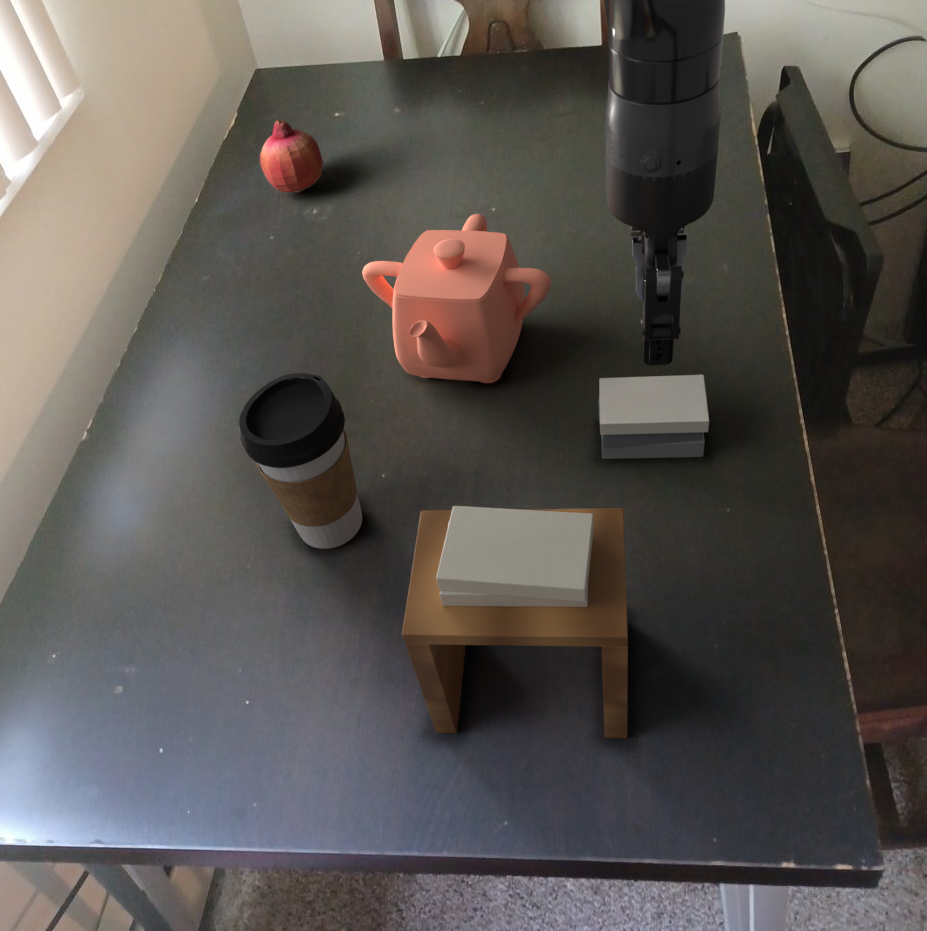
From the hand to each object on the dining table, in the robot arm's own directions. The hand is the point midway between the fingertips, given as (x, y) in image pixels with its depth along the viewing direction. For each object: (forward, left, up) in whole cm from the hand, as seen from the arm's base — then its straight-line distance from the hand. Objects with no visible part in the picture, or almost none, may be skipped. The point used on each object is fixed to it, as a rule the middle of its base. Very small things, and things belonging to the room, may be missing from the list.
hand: (655, 326), depth 73 cm
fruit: (+64, +9, -14) cm, 66 cm away
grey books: (0, 0, -14) cm, 14 cm away
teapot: (+21, +8, -14) cm, 26 cm away
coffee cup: (+9, +29, -14) cm, 33 cm away
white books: (-14, +22, 0) cm, 26 cm away
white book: (0, 0, -10) cm, 10 cm away
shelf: (-14, +22, -14) cm, 29 cm away
